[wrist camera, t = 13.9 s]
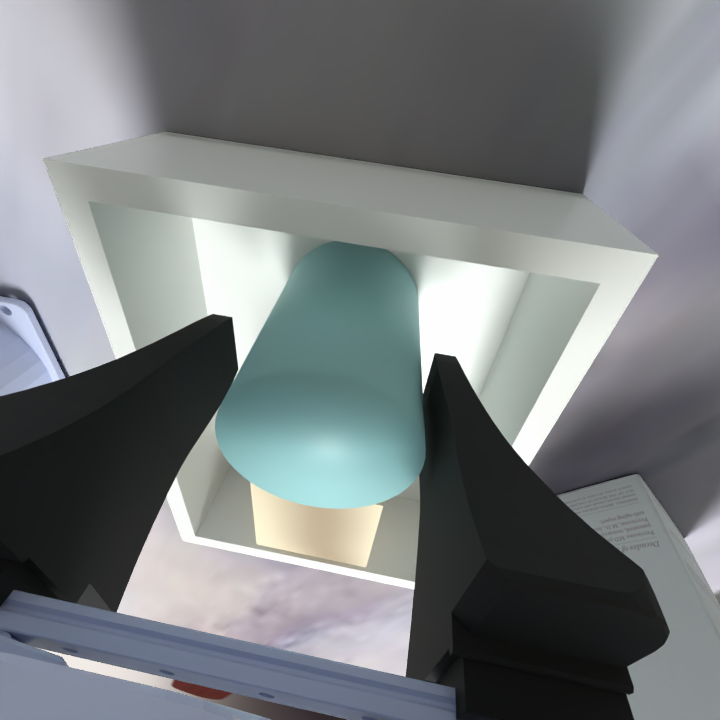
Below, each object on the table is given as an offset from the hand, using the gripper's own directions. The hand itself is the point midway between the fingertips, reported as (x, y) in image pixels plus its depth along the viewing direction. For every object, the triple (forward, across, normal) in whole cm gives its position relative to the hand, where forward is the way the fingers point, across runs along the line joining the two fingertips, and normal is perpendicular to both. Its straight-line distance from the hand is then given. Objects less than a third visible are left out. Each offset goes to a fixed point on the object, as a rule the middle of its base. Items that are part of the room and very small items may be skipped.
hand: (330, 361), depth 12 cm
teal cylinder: (+4, 0, 0) cm, 4 cm away
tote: (+4, 0, +4) cm, 6 cm away
